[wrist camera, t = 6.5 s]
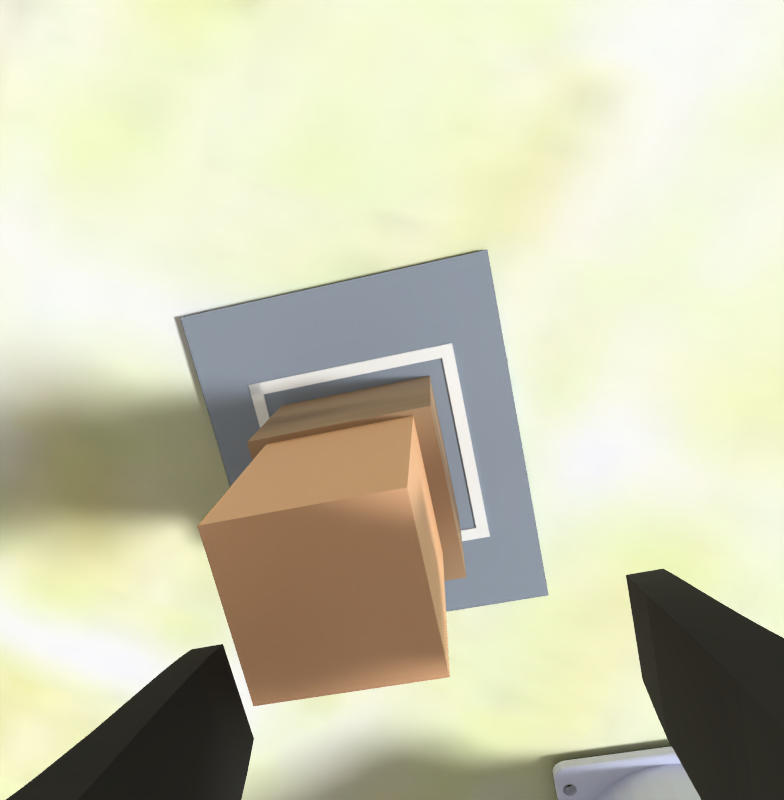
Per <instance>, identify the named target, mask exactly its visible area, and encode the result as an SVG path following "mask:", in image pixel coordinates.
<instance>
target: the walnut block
mask: <svg viewBox="0 0 784 800" xmlns="http://www.w3.org/2000/svg"><path fill="white" fill-rule="evenodd" d="M408 416H413V417H414V422H415V426H416V431H417V436H418V440H419V445H420V450H421V454H422V459H423V463H424V468H425V473H426V477H427V482H428V487H429V491H430V496H431V501H432V505H433V510H434V515H435V519H436V524H437V528H438V533H439V538H440V542H441V547H442V552H443V565H444V581H447V580H453V579H459V578H465V577H466V569H465V561H464V553H463V545H462V537H461V529H460V521H459V514H458V509H457V504H456V500H455V495H454V490H453V485H452V480H451V475H450V471H449V466H448V461H447V456H446V451H445V446H444V442H443V437H442V432H441V427H440V422H439V417H438V413H437V408H436V403H435V398H434V393H433V388H432V384H431V379H430V376H425V377H420V378H416V379H411V380H406V381H401V382H396V383H391V384H386V385H381V386H376V387H371V388H366V389H361V390H356V391H351V392H346V393H341V394H336V395H331V396H326V397H321V398H317V399H312V400H307V401H302V402H297V403H292V404H287V405H282V406H281V407H280V408H279V409H278V410H277V411H276V412H275V413H274V414H273V415H272V416H271V417H270V418H269V419H268V420H267V422H266V423H265V424H264V425H263V426H262V427H261V428H260V429H259V430H258V431H257V432H256V433H255V434H254V435H253V436H252V437H251V438H250V439H249V440H248V441H247V443H248V447H249V451H250V454H251V458H252V461H253V459H254V458H255V457H256V456H257V455H258V453H259V452H260V451H261V450H262V449H263V448H264V446H265V445H266V444H269V443H274V442H279V441H284V440H290V439H295V438H300V437H305V436H310V435H315V434H320V433H326V432H331V431H336V430H341V429H346V428H351V427H356V426H362V425H367V424H372V423H377V422H382V421H387V420H392V419H397V418H403V417H408Z"/></svg>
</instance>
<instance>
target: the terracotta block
mask: <svg viewBox="0 0 784 800" xmlns="http://www.w3.org/2000/svg"><path fill="white" fill-rule="evenodd" d="M198 529H199V532H200V535H201V538H202V541H203V545H204V548H205V551H206V554H207V558H208V561H209V564H210V567H211V570H212V574H213V577H214V580H215V583H216V587H217V590H218V593H219V596H220V599H221V603H222V606H223V609H224V612H225V616H226V619H227V622H228V625H229V628H230V632H231V635H232V638H233V641H234V645H235V648H236V651H237V654H238V657H239V661H240V664H241V667H242V670H243V674H244V677H245V680H246V683H247V686H248V690H249V693H250V696H251V699H252V703H253V706H258V705H264V704H271V703H278V702H285V701H291V700H298V699H305V698H311V697H318V696H325V695H332V694H338V693H345V692H352V691H359V690H365V689H372V688H379V687H386V686H392V685H399V684H406V683H413V682H419V681H426V680H433V679H440V678H446V677H450V675H449V657H448V638H447V620H446V602H445V584H444V565H443V552H442V547H441V542H440V538H439V533H438V528H437V524H436V519H435V515H434V510H433V505H432V501H431V496H430V491H429V487H428V482H427V477H426V473H425V468H424V463H423V459H422V454H421V450H420V445H419V440H418V436H417V431H416V426H415V422H414V417H413V416H408V417H403V418H397V419H392V420H387V421H382V422H377V423H372V424H367V425H362V426H356V427H351V428H346V429H341V430H336V431H331V432H326V433H320V434H315V435H310V436H305V437H300V438H295V439H290V440H284V441H279V442H274V443H269V444H266V445H265V446H264V448H263V449H262V450H261V451H260V452H259V453H258V455H257V456H256V457H255V458H254V459H253V461H252V462H251V463H250V464H249V465H248V467H247V468H246V469H245V470H244V471H243V472H242V474H241V475H240V476H239V477H238V478H237V480H236V481H235V482H234V483H233V484H232V485H231V487H230V488H229V489H228V490H227V491H226V493H225V494H224V495H223V496H222V497H221V498H220V500H219V501H218V502H217V503H216V504H215V506H214V507H213V508H212V509H211V510H210V511H209V513H208V514H207V515H206V516H205V517H204V519H203V520H202V521H201V522H200V523H199V525H198Z"/></svg>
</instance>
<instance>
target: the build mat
mask: <svg viewBox="0 0 784 800" xmlns="http://www.w3.org/2000/svg"><path fill="white" fill-rule="evenodd" d="M181 321H182V324H183V327H184V331H185V334H186V338H187V341H188V344H189V348H190V351H191V355H192V358H193V361H194V365H195V368H196V372H197V375H198V378H199V382H200V385H201V389H202V392H203V395H204V399H205V402H206V406H207V409H208V413H209V416H210V419H211V423H212V426H213V430H214V433H215V436H216V440H217V443H218V447H219V450H220V453H221V457H222V460H223V464H224V467H225V470H226V474H227V477H228V481H229V484H230V487H231V485H232V484H233V483H234V482H235V481H236V480H237V478H238V477H239V476H240V475H241V474H242V472H243V471H244V470H245V469H246V468H247V467H248V465H249V464H250V463H251V462H252V458H251V454H250V451H249V447H248V443H247V441H248V440H249V439H250V438H251V437H252V436H253V435H254V434H255V433H256V432H257V431H258V430H259V429H260V428H261V427H262V426H263V425H264V424H265V423H266V422H267V420H268V419H269V418H270V417H271V416H272V415H273V414H274V413H275V412H276V411H277V410H278V409H279V408H280V407H281V406H282V405H287V404H292V403H297V402H302V401H307V400H312V399H317V398H321V397H326V396H331V395H336V394H341V393H346V392H351V391H356V390H361V389H366V388H371V387H376V386H381V385H386V384H391V383H396V382H401V381H406V380H411V379H416V378H420V377H425V376H430V379H431V384H432V388H433V393H434V398H435V403H436V408H437V413H438V417H439V422H440V427H441V432H442V437H443V442H444V446H445V451H446V456H447V461H448V466H449V471H450V475H451V480H452V485H453V490H454V495H455V500H456V504H457V509H458V514H459V521H460V529H461V537H462V545H463V553H464V561H465V569H466V577H465V578H459V579H453V580H447V581H444V584H445V602H446V612H447V611H453V610H459V609H465V608H472V607H478V606H484V605H490V604H497V603H503V602H509V601H515V600H521V599H528V598H534V597H540V596H546V595H548V590H547V584H546V579H545V573H544V567H543V562H542V556H541V551H540V545H539V539H538V534H537V528H536V522H535V517H534V511H533V505H532V500H531V494H530V488H529V483H528V477H527V471H526V466H525V460H524V454H523V449H522V443H521V438H520V432H519V426H518V421H517V415H516V409H515V404H514V398H513V392H512V387H511V381H510V375H509V370H508V364H507V358H506V353H505V347H504V341H503V336H502V330H501V325H500V319H499V313H498V308H497V302H496V296H495V291H494V285H493V279H492V274H491V268H490V262H489V257H488V251H487V250H483V251H478V252H474V253H469V254H465V255H460V256H456V257H451V258H447V259H442V260H438V261H433V262H429V263H424V264H420V265H415V266H411V267H406V268H402V269H397V270H393V271H388V272H384V273H379V274H375V275H370V276H366V277H361V278H357V279H352V280H348V281H343V282H338V283H334V284H329V285H325V286H320V287H316V288H311V289H307V290H302V291H298V292H293V293H289V294H284V295H280V296H275V297H271V298H266V299H262V300H257V301H253V302H248V303H244V304H239V305H235V306H230V307H226V308H221V309H217V310H212V311H208V312H203V313H199V314H194V315H190V316H185V317H181Z"/></svg>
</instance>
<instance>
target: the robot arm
mask: <svg viewBox="0 0 784 800" xmlns="http://www.w3.org/2000/svg"><path fill="white" fill-rule="evenodd" d="M626 578H627V584H628V590H629V596H630V603H631V609H632V615H633V622H634V628H635V634H636V641H637V647H638V653H639V660H640V666H641V672H642V679H643V682H644V684H645V686H646V689H647V691H648V694H649V696H650V699H651V701H652V703H653V706H654V708H655V711H656V713H657V715H658V718H659V720H660V722H661V725H662V727H663V729H664V732H665V734H666V736H667V739H668V740H669V742H670V744H671V746H670V747H663V748H655V749H648V750H640V751H633V752H625V753H617V754H610V755H602V756H595V757H587V758H580V759H572V760H565V761H561V762H558V763H557V764H556V765H555V766H554V768H553V778H554V783H555V789H556V794H557V799H558V800H784V638H782V637H780V636H779V635H777V634H775V633H773V632H771V631H769V630H767V629H765V628H764V627H762V626H760V625H758V624H756V623H755V622H753V621H751V620H749V619H748V618H746V617H744V616H742V615H740V614H739V613H737V612H735V611H734V610H732V609H730V608H728V607H727V606H725V605H723V604H722V603H720V602H718V601H717V600H715V599H713V598H712V597H710V596H708V595H707V594H705V593H703V592H702V591H700V590H698V589H697V588H695V587H693V586H692V585H690V584H688V583H687V582H685V581H683V580H682V579H680V578H678V577H677V576H675V575H673V574H672V573H670V572H668V571H666V570H665V569H659V570H653V571H647V572H642V573H636V574H630V575H626ZM253 740H254V738H253V735H252V732H251V729H250V726H249V723H248V720H247V717H246V714H245V711H244V707H243V704H242V701H241V698H240V695H239V692H238V689H237V686H236V683H235V680H234V677H233V674H232V671H231V668H230V665H229V662H228V659H227V655H226V652H225V649H224V646H223V644H221V645H215V646H209V647H203V648H198V649H192V650H190V651H189V652H187V653H186V654H184V655H183V656H182V657H180V658H179V659H178V660H176V661H175V662H174V663H173V664H171V665H170V666H169V667H168V668H166V669H165V670H164V671H163V672H162V673H160V674H159V675H158V676H157V677H156V678H154V679H153V680H152V681H151V682H150V683H149V684H147V685H146V686H145V687H144V688H143V689H142V690H140V691H139V692H138V693H137V694H136V695H135V696H133V697H132V698H131V699H130V700H129V701H128V702H126V703H125V704H124V705H123V706H122V707H121V708H119V709H118V710H117V711H116V712H115V713H114V714H112V715H111V716H110V717H109V718H108V719H107V720H105V721H104V722H103V723H102V724H101V725H100V726H98V727H97V728H96V729H95V730H94V731H92V732H91V733H90V734H89V735H88V736H86V737H85V738H84V739H83V740H81V741H80V742H79V743H78V744H76V745H75V746H74V747H73V748H71V749H70V750H69V751H68V752H67V753H65V754H64V755H63V756H62V757H60V758H59V759H58V760H57V761H55V762H54V763H53V764H52V765H50V766H49V767H48V768H47V769H46V770H44V771H43V772H42V773H41V774H39V775H38V776H37V777H36V778H34V779H33V780H32V781H30V782H29V783H28V784H26V785H25V786H24V787H23V788H21V789H20V790H19V791H17V792H16V793H15V794H13V795H12V796H10V797H9V798H8V799H6V800H241V798H242V793H243V789H244V785H245V780H246V776H247V771H248V766H249V761H250V756H251V750H252V745H253ZM568 784H571V785H572V786H570V787H565V786H566V785H568Z"/></svg>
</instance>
